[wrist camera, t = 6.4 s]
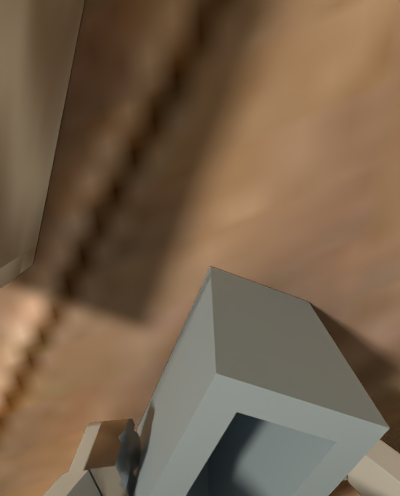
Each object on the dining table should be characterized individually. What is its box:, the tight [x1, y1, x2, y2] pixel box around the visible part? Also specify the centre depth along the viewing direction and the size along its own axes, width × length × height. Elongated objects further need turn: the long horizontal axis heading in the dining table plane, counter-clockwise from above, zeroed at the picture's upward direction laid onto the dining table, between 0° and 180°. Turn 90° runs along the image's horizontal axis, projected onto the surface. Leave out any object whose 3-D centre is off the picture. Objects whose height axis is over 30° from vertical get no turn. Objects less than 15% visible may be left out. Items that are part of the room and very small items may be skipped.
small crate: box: [133, 266, 390, 496], centre depth 10 cm, size 9×4×5 cm, turn 159°
